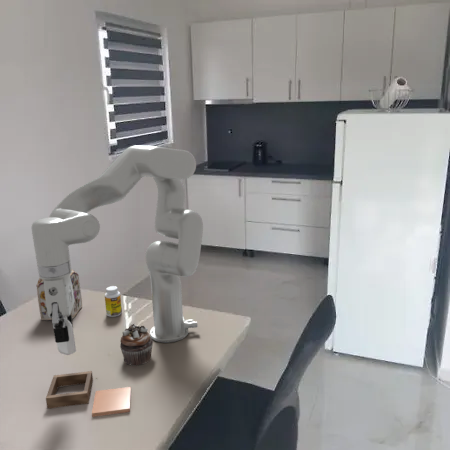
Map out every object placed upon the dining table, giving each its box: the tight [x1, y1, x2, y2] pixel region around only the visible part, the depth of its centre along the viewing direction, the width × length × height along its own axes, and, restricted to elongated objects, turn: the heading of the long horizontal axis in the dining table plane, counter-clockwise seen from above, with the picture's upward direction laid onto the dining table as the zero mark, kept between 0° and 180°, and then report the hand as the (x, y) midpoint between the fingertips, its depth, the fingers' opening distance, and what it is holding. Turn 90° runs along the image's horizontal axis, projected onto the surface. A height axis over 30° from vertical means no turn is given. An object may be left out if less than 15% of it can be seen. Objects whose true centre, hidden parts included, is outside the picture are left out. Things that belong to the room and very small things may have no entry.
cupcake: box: [119, 323, 154, 366], centre depth 132 cm, size 10×10×10 cm
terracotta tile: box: [91, 386, 132, 418], centre depth 113 cm, size 9×9×1 cm
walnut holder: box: [45, 370, 94, 410], centre depth 117 cm, size 10×10×3 cm
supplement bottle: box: [104, 285, 123, 318], centre depth 161 cm, size 6×6×10 cm
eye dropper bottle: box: [56, 313, 77, 356], centre depth 112 cm, size 4×6×12 cm
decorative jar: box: [36, 268, 83, 321], centre depth 162 cm, size 12×12×18 cm
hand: (64, 334), depth 113 cm, fingers closed on eye dropper bottle, 5 cm apart
